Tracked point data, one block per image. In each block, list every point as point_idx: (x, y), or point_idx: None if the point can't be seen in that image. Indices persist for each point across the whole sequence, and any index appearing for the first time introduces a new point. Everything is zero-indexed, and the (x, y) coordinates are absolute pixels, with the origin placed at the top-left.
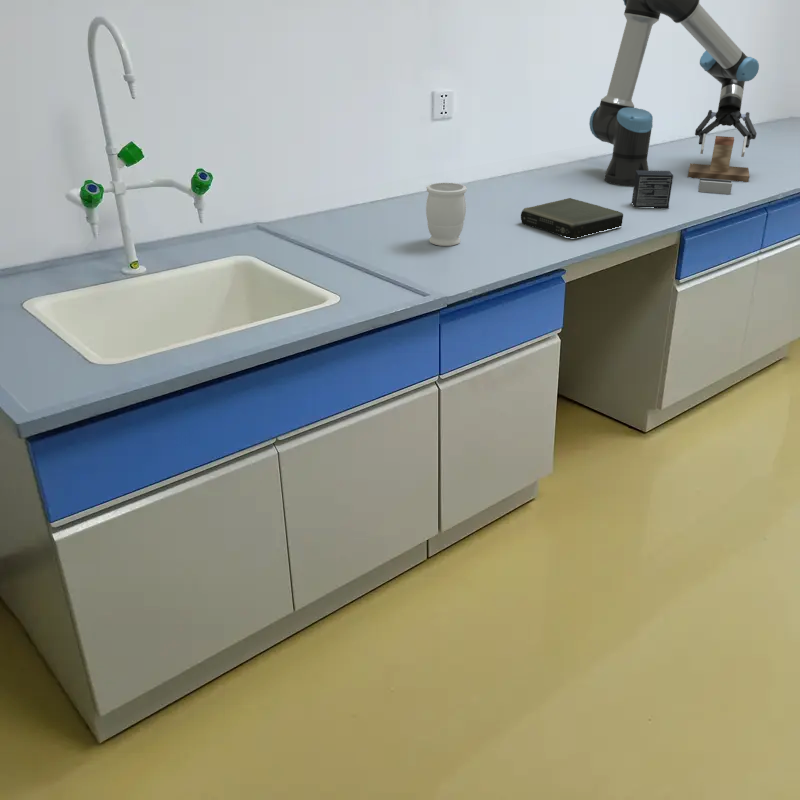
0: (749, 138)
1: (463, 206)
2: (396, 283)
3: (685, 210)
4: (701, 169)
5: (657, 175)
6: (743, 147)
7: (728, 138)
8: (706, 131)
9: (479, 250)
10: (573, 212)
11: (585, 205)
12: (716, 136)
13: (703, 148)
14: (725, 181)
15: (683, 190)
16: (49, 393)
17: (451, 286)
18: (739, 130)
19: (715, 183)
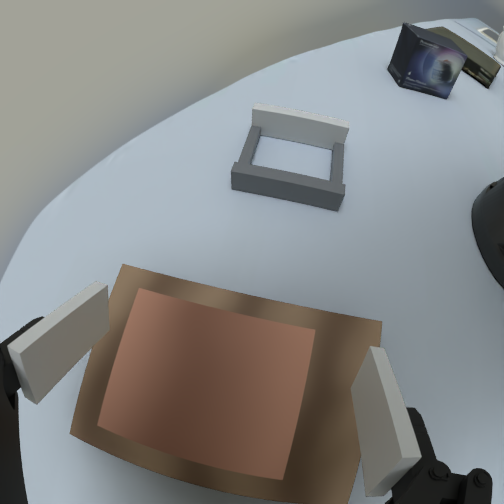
0: (3, 347)
1: (500, 35)
2: (475, 33)
3: (359, 61)
4: (317, 384)
5: (426, 30)
6: (84, 299)
7: (174, 351)
8: (398, 501)
9: (477, 46)
10: (461, 42)
11: (465, 52)
12: (283, 453)
13: (372, 350)
14: (255, 167)
15: (380, 157)
16: (483, 23)
17: (453, 23)
18: (18, 480)
19: (303, 113)
